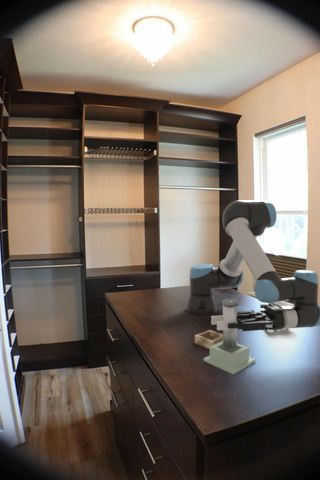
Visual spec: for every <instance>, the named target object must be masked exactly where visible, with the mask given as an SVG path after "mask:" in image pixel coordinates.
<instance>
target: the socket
mask: <svg viewBox="0 0 320 480" xmlns="http://www.w3.org/2000/svg"><path fill="white" fill-rule="evenodd" d="M203 362H206V363H207V364H209V365H212V366H214V367H216V368H218V369H221V370H222V371H225V372H227V373H229V374H231V375H235V374H237V373H239V372H240V371H242V370H243V369H246V368H247V366H248V367H250V366H252V365H253V364H254V362H255V363H256V359H255V358H253V357H250V347H248V346H246V345H243V344H240V343H238V342H237V347H236V348H226V347H224V346H223V341H222V342H220V343H217V344H215V345H213V346H210V349H209V355H208V356H206V357H204V358H203ZM252 363H253V364H252Z"/></svg>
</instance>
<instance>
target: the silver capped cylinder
mask: <svg viewBox="0 0 320 480" xmlns="http://www.w3.org/2000/svg"><path fill="white" fill-rule="evenodd" d="M221 305H222V315H223V321H227V320H237V312H238V306H239V301H238V300H237V299H235V298H224V299H222V300H221ZM222 334H223V346H224V347H226V348H236V347H237V343H238V328H237V329H228V330H222Z"/></svg>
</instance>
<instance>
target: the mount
mask: <svg viewBox="0 0 320 480" xmlns="http://www.w3.org/2000/svg"><path fill="white" fill-rule="evenodd" d="M222 341H223V333H220V332H218V331H214V330H211V329H208V330H205V331H203V332H201V333H196V334H195V335H194V344H196V345H199V346H202V347H204V348H206V349H209V350H210V346H213V345H215V344H217V343H220V342H222Z"/></svg>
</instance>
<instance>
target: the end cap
mask: <svg viewBox="0 0 320 480" xmlns="http://www.w3.org/2000/svg"><path fill="white" fill-rule="evenodd" d="M259 305H260V307H259V308H260V309H263V310H259V312H262V313H264V312H265V310H266V309H267V308H268V307H276V306H275V304H274V303H271V302H270V303H268V304H267V303H264V304H263V303H262V304H259Z"/></svg>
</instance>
